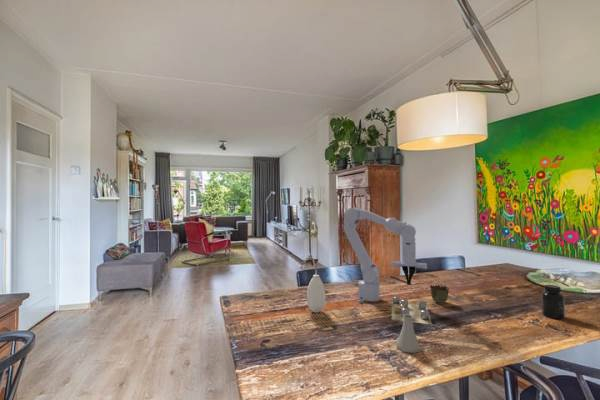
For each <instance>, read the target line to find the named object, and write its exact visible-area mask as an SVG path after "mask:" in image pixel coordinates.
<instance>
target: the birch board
mask: <svg viewBox="0 0 600 400" xmlns="http://www.w3.org/2000/svg"><path fill="white" fill-rule="evenodd" d="M400 305H401V302H400ZM408 308H409V314H410V315H412V316H413V317H414V319H413V323H419V324H424V325H433V322H432V319H431V316H430V315H429V320H422V319H421V310H419V309H418V304H411V303H408ZM426 310H428V307H427V305H426ZM428 311H429V310H428ZM391 321H400V322H404V318H403V317H401V313H394V305H393V302H391Z"/></svg>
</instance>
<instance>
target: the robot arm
mask: <svg viewBox="0 0 600 400" xmlns="http://www.w3.org/2000/svg"><path fill="white" fill-rule="evenodd" d="M361 220H369V221H371V222H374V223H376V224H379V225H381V226H384V229H385V230H387V231H388V232H390V233H394V234H396V235H398V236H401V261H399V260H398V261H390V266H391V267H397V268H398V267H399V268H400V267H401V269H402V272H403V274H404V277H405V280H406V284H407V285H412V280H413V276H414V273H415V272H416V269H424V270H428V265H427V263H426V262H425V263H424V262H417V260H416V257H417V256H416V253H417V252H416V250H417V249H416V245H417V244H416V237H415V236H416V232H417V230H416V228H415V227H414V226H413V225H412V224H407V222H402V221H400V220H398V219H397V218H396V217H389V218H386V217H383V216H381V215H379V214H376V213H374V212H371V211H369V210H366V209H363V208H359V207H350V208H348V209H346V210H345V213H344V214H343V231H344V233H345V235H346V237H347V240H348V241H349V243H350V246H351V247H352V250H353V252H354V254H355V255H356V258H357V259H358V263H359V264H360V270H361V274H362V279H363V280H359V281H358V292H357V293H358V295H357V296H358V303H362V304H364V301H368V302H378V301H380V290H381V289H380V279H379V276H380V274H381V270H380V268H379V267H378V266H377V265H376V264H375V262H374V261H373V260H372V259H371V258H370V256H369V253H368V251H367V249H366V248H365V245H364V244H363V242H362V240H361V237H360V235H359V234H358V232H357V230H356V228H357V225H358V223H359V222H360V221H361Z"/></svg>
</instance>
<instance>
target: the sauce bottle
mask: <svg viewBox="0 0 600 400" xmlns="http://www.w3.org/2000/svg"><path fill="white" fill-rule="evenodd" d="M317 272H318V271H317V269H315V274H313V275H312V278H311V280H310V281H309V283H308V286H307V291H306V301H307V305H308V309H310V310H311V312H313V313H316V314H318V313H320V312H321V311H322V310H323V309H324V308H325V305H326V297H327V296H326V289H325V286H324V282H323V281H322V278H320V275H319V274H317Z"/></svg>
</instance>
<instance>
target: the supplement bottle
mask: <svg viewBox="0 0 600 400" xmlns="http://www.w3.org/2000/svg"><path fill="white" fill-rule="evenodd" d="M561 292H562V290H561V286H559V285H554V284H544V291H542V292H541V313H542V315H543V316H544V317H547V318H549V319H552V320H564V319H565V318H566V307H565V306H566V304H565V303H566V302H565V296H564V295H563V293H561Z"/></svg>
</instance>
